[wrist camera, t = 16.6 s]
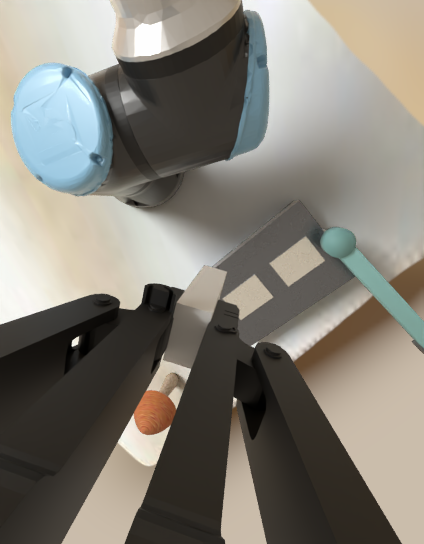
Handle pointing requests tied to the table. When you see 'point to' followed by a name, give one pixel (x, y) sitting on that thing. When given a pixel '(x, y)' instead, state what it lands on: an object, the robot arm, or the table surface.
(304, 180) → the table surface
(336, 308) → the table surface
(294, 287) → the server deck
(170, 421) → the mushroom
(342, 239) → the green knobbed rod
